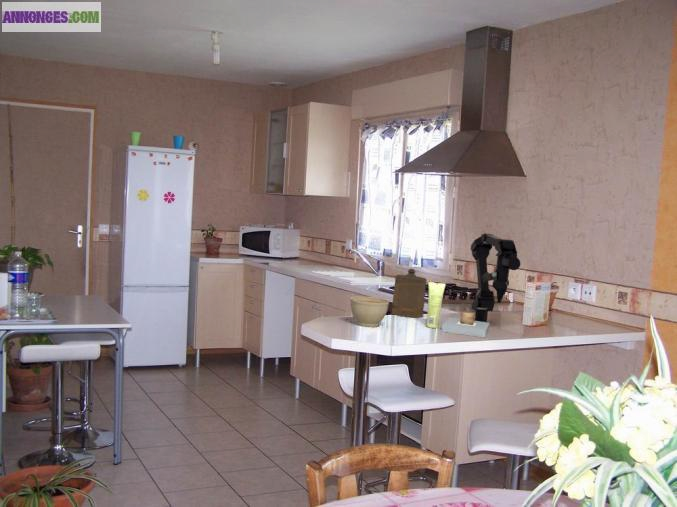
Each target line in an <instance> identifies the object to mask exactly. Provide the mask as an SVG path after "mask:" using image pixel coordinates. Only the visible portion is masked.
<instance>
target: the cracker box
mask: <svg viewBox="0 0 677 507" xmlns="http://www.w3.org/2000/svg"><path fill="white" fill-rule="evenodd" d="M551 287H552V282H550V281H549V282H547V281H526V283H525V290H524V291H525V292H524V301H523V311H522V313H523V314H522V323H521V324H522V325H523V326H525V325H527V326H526V327H531V328H533V327H539V326H540V327H541V326H547V325H548V318H549V309H550V301H551V300H550V299H551V289H552V288H551Z"/></svg>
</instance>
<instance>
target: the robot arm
mask: <svg viewBox="0 0 677 507" xmlns="http://www.w3.org/2000/svg"><path fill="white" fill-rule="evenodd" d="M493 247H494V249H495V251H496V252H497V253H496V254H495V256H496V267H495V270H494V272H488V261H487V260H488V257H489V256H490V251H491V250H492V249H493ZM470 251H471V255H472V257H473V258H474V260H475V262H476V263H475V264H476V275H477V276H476V277H477V292H476V293H475V298H474V300H473V302H472V303H471V310H473V311H475V312H474V313H475V317H474V321H480V322H487V323H489V322H488V315H489V314H488V313H489V312H493V310H494V307H495V304H496V303H495V302H496V301H495V293H494V291H493V290H490V284H489V282H490V281H493V282H492V285H491V286H492V288H493V289H494V290H495V291H496V298H497V299H496V300H497V303H498V304H500V303H501V302H502V300H503V299H504V296H505V294H506V293H507V291H508V288H509V286H510V280H509V277H510V276H509V275H510V270H511V271H516V270H518V269H519V268H520V266H521V260H520V258H519V257H518V250H517V248H516V244H515V242H514V240H513V239H506V238H505V239H504V238H501V237H498V236H496V235H494V234H492V233H481V235H480V236H479V237H477V238H476V239H474V240H473V242H472V243H471V244H470Z"/></svg>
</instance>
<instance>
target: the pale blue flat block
mask: <svg viewBox="0 0 677 507" xmlns="http://www.w3.org/2000/svg"><path fill="white" fill-rule="evenodd" d="M460 319H461V318H458V317H448V318H447V319H446V320H445V321H444V322H443V323H442V326H441V332H444V333H450V334H458V335H459V334H460V335H464V336H465V335H467V336H472V337H479V338H486V336H487V334H488V332H489V330H490V324H491V323H490V322H488V321H487V322H488V323H487V322H480V321H474V324H472V325H468V324H462V323H460Z"/></svg>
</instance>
